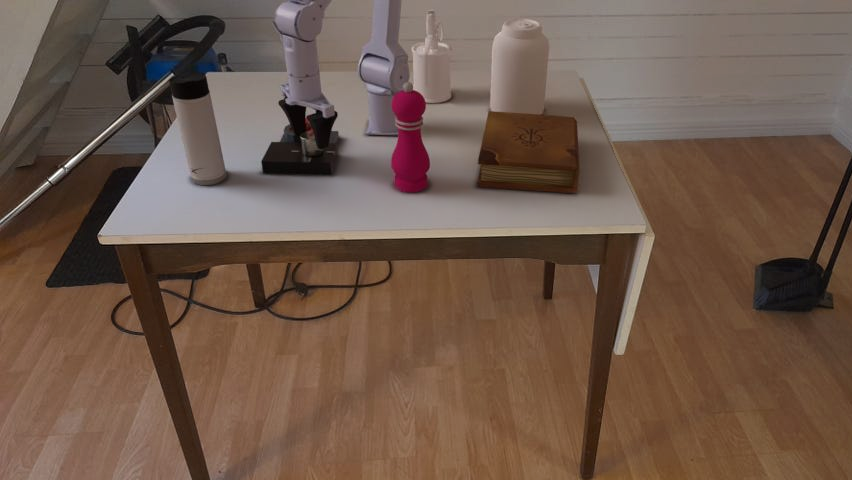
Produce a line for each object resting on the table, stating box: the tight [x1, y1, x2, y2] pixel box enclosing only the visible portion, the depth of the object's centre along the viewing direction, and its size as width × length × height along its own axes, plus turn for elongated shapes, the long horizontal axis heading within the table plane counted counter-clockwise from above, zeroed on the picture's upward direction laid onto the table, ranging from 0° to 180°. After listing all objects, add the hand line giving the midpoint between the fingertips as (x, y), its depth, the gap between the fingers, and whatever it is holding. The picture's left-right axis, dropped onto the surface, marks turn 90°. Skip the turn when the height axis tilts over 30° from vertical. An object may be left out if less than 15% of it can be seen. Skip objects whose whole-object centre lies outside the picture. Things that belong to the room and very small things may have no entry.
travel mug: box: [168, 73, 227, 186], centre depth 127 cm, size 6×7×20 cm
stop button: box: [291, 118, 310, 132], centre depth 143 cm, size 4×4×2 cm
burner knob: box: [300, 129, 323, 157], centre depth 136 cm, size 4×4×4 cm
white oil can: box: [410, 8, 453, 104], centre depth 162 cm, size 10×9×20 cm
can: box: [489, 18, 550, 115], centre depth 157 cm, size 12×12×20 cm
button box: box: [279, 123, 340, 144], centre depth 145 cm, size 11×7×4 cm, turn 91°
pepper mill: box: [390, 81, 431, 194], centre depth 127 cm, size 7×7×20 cm
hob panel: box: [260, 141, 339, 176], centre depth 138 cm, size 13×8×3 cm, turn 91°
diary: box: [476, 110, 580, 194], centre depth 140 cm, size 23×19×6 cm
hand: (311, 140), depth 136 cm, fingers open, 7 cm apart
